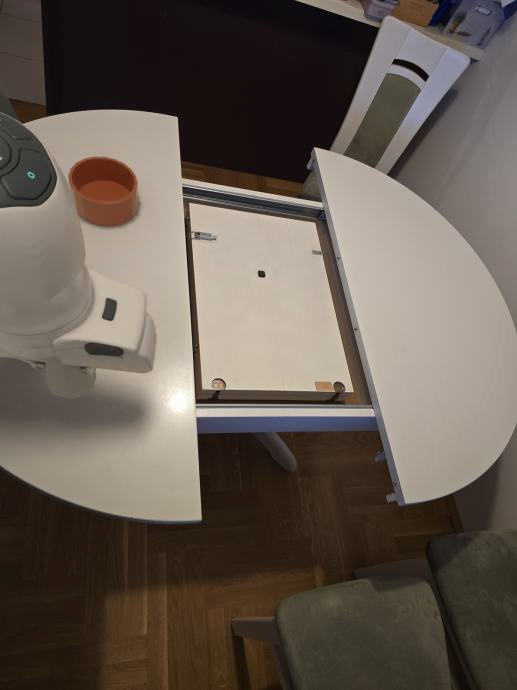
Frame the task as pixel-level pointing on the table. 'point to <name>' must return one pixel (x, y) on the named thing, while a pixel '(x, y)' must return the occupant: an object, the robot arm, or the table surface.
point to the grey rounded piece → (67, 379)
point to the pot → (104, 190)
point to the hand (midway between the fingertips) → (65, 365)
